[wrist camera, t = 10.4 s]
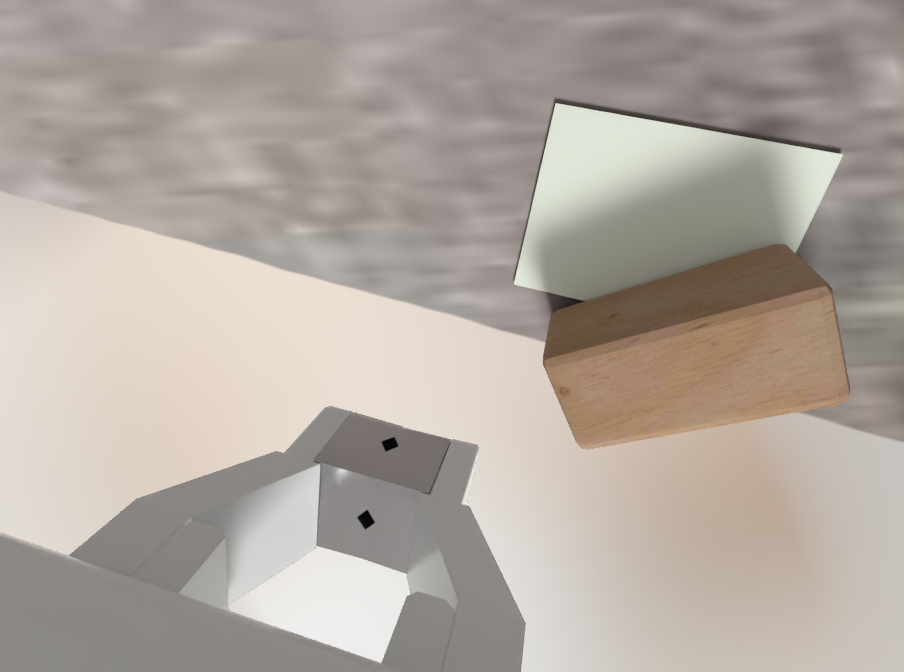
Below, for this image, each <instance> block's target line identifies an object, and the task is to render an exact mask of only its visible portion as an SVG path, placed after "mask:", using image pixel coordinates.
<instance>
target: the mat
mask: <svg viewBox="0 0 904 672" xmlns="http://www.w3.org/2000/svg"><path fill="white" fill-rule="evenodd" d="M842 156H843V154H838V153H832V152H826V151H821V150H815V149H810V148H804V147H799V146H793V145H787V144H782V143H776V142H771V141H765V140H759V139H754V138H748V137H743V136H737V135H731V134H726V133H720V132H715V131H709V130H703V129H698V128H692V127H687V126H681V125H675V124H670V123H664V122H659V121H653V120H647V119H642V118H636V117H631V116H625V115H619V114H614V113H608V112H603V111H597V110H591V109H586V108H580V107H575V106H569V105H563V104H558V103H556V104H555V108H554V112H553V117H552V121H551V125H550V130H549V134H548V138H547V143H546V147H545V151H544V156H543V160H542V164H541V169H540V173H539V177H538V182H537V186H536V190H535V194H534V199H533V203H532V207H531V212H530V216H529V220H528V225H527V229H526V233H525V238H524V242H523V246H522V251H521V255H520V259H519V264H518V268H517V272H516V277H515V281H514V284H515V285H519V286H523V287H527V288H532V289H536V290H540V291H544V292H548V293H553V294H557V295H561V296H565V297H569V298H574V299H578V300H582V301H588V300H591V299H595V298H598V297H601V296H605V295H608V294H611V293H614V292H618V291H621V290H624V289H628V288H631V287H634V286H638V285H641V284H644V283H647V282H651V281H654V280H657V279H661V278H664V277H667V276H671V275H674V274H677V273H680V272H684V271H687V270H690V269H694V268H697V267H700V266H704V265H707V264H710V263H713V262H717V261H720V260H723V259H727V258H730V257H733V256H737V255H740V254H743V253H746V252H750V251H753V250H756V249H760V248H763V247H766V246H770V245H773V244H786V245H787V246H788V247H789V248H790V249H791V250H792V251H793V252H794V253H796V251H797V249H798V247H799V245H800V243H801V241H802V239H803V237H804V235H805V233H806V231H807V229H808V226H809V224H810V222H811V220H812V218H813V216H814V214H815V212H816V210H817V208H818V206H819V204H820V202H821V199H822V197H823V195H824V193H825V191H826V189H827V187H828V185H829V183H830V181H831V179H832V177H833V175H834V173H835V170H836V168H837V166H838V164H839V162H840V160H841V158H842Z"/></svg>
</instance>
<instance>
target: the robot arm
mask: <svg viewBox="0 0 904 672" xmlns="http://www.w3.org/2000/svg"><path fill="white" fill-rule="evenodd" d="M478 449H479V447H478V445H476V444H471V443H467V442H462V441H459V440H454V439H453V440H450V439H447V438H443V437H439V436H435V435H431V434H428V433H423V432H420V431H416V430H412V429H408V428H404V427H402V426H399V425H396V424H392V423H389V422H385V421H382V420H378V419H375V418H372V417H368V416H365V415H361V414H358V413H353V412H351V411H347V410H343V409H339V408H335V407H332V406H329V407H326V408H324V409H323V410H322V412H321V413H320V414H319V415H318V416H317V417H316V418H315V419H314V420H313V421H312V423H311V424H310V425H309V426H308V427H307V428H306V429H305V430H304V431H303V433H302V434H301V435H300V436H299V437H298V438H297V439H296V440H295V441H294V442H293V444H292V445H291V446H290V447H289V448H288V449H287V450H286V451H285V452H284V453H281V452H277V451H275V452H273V453H270V454H267V455H264V456H261V457H258V458H255V459H252V460H249V461H246V462H243V463H240V464H237V465H234V466H232V467H229V468H226V469H223V470H220V471H217V472H214V473H211V474H208V475H205V476H202V477H199V478H197V479H193V480H191V481H188V482H185V483H182V484H179V485H176V486H173V487H170V488H167V489H164V490H161V491H158V492H155V493H153V494H150V495H147V496H144V497H141V498H138V499H136V500H135V501H133V502H132V503H131V504H130V505H129V506H127V507H126V508H125V509H124V510H123V511H121V512H120V513H119V514H118V515H117V516H115V517H114V518H113V519H112V520H111V521H109V522H108V523H107V524H106V525H105V526H104V527H102V528H101V529H100V530H99V531H98V532H96V533H95V534H94V535H93V536H92V537H90V538H89V539H88V540H87V541H86V542H85V543H83V544H82V545H81V546H80V547H78V548H77V549H76V550H75V551H74V552H73V553H71V554H70V555H69V556H67V555H65V554H62V553H59V552H56V551H53V550H50V549H47V548H44V547H41V546H39V545H36V544H33V543H30V542H27V541H24V540H21V539H18V538H15V537H12V536H9V535H7V534H4V533H1V532H0V672H521V664H522V654H523V644H524V633H525V624H526V623H525V621H524V619H523V617H522V615H521V613H520V611H519V608H518V607H517V604H516V602H515V600H514V598H513V596H512V594H511V592H510V590H509V588H508V586H507V584H506V581H505V580H504V577H503V575H502V573H501V571H500V569H499V567H498V565H497V563H496V561H495V559H494V556H493V554H492V553H491V550H490V548H489V546H488V544H487V542H486V540H485V538H484V536H483V534H482V532H481V529H480V527H479V525H478V523H477V521H476V519H475V517H474V515H473V513H472V511H471V509H470V507H469V506H466V505H467V501H468V497H469V492H470V488H471V483H472V478H473V473H474V469H475V464H476V460H477V455H478ZM316 546H319V547H323V548H327V549H331V550H334V551H337V552H341V553H345V554H348V555H352V556H355V557H359V558H363V559H365V560H368V561H371V562H374V563H377V564H380V565H383V566H386V567H388V568H391V569H394V570H397V571H400V572H403V573H406V574H407V580H408V584H409V589H410V593H411V595H409V596H407V597H406V600H405V603H404V605H403V608H402V611H401V613H400V616H399V618H398V621H397V624H396V626H395V629H394V632H393V634H392V637H391V640H390V642H389V645H388V647H387V650H386V653H385V655H384V658H383V661H382V663H379V662H376V661H373V660H371V659H368V658H365V657H362V656H359V655H356V654H353V653H350V652H347V651H344V650H341V649H338V648H336V647H333V646H330V645H327V644H324V643H321V642H318V641H315V640H312V639H309V638H306V637H303V636H300V635H298V634H294V633H292V632H289V631H286V630H283V629H280V628H277V627H274V626H272V625H269V624H266V623H263V622H260V621H256V620H254V619H251V618H248V617H245V616H242V615H240V614H237V613H234V612H231V611H229V605H230V604H232V603H233V602H235V601H236V600H238V599H239V598H241V597H242V596H244V595H246V594H247V593H249V592H250V591H252V590H253V589H255V588H256V587H258V586H259V585H261V584H262V583H264V582H266V581H267V580H269V579H270V578H272V577H273V576H275V575H276V574H278V573H279V572H281V571H282V570H284V569H285V568H287V567H289V566H290V565H292V564H293V563H295V562H296V561H298V560H299V559H301V558H302V557H304V556H306V555H307V554H308V553H310V552H312V551H313V550H315V549H316Z"/></svg>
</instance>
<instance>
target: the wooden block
mask: <svg viewBox="0 0 904 672" xmlns="http://www.w3.org/2000/svg"><path fill="white" fill-rule="evenodd" d="M543 365H544V368H545V370H546V372H547V375H548V377H549V379H550V382H551V384H552V386H553V389H554V391H555V393H556V396H557V398H558V400H559V403H560V405H561V408H562V410H563V412H564V415H565V417H566V419H567V422H568V424H569V426H570V428H571V431H572V433H573V436H574V438H575V440H576V442H577V443H578V445H579V446H580V447H581V448H583V449H594V448H600V447H605V446H611V445H616V444H621V443H627V442H633V441H639V440H644V439H650V438H655V437H661V436H666V435H672V434H678V433H683V432H689V431H695V430H700V429H706V428H711V427H716V426H723V425H728V424H733V423H739V422H745V421H750V420H756V419H761V418H767V417H773V416H778V415H784V414H789V413H795V412H801V411H806V410H812V409H817V408H823V407H829V406H834V405H839V404H841V403H843V402H845V401H847V400H848V398H849V394H850V385H849V379H848V374H847V368H846V363H845V357H844V352H843V346H842V341H841V335H840V330H839V324H838V319H837V313H836V307H835V302H834V296H833V291H832V288H831V287H830V286H829V285H828V283H827V282H826V281H825V280H824V279H823V278H822V277H821V276H820V275H818V274H817V273H816V272H815V271H814V270H813V269H812V268H811V267H810V266H809V265H808V264H806V263H805V262H804V261H803V260H802V259H801V258H800V257H799V256H798V255H797V254H796V253H794V252H793V251H792V250H791V249H790V248H789V247H788V246H787V245H786V244H773V245H770V246H766V247H763V248H760V249H756V250H753V251H750V252H746V253H743V254H740V255H737V256H733V257H730V258H727V259H723V260H720V261H717V262H713V263H710V264H707V265H704V266H700V267H697V268H694V269H690V270H687V271H684V272H680V273H677V274H674V275H671V276H667V277H664V278H661V279H657V280H654V281H651V282H647V283H644V284H641V285H638V286H634V287H631V288H628V289H624V290H621V291H618V292H614V293H611V294H608V295H605V296H601V297H598V298H595V299H591V300H588V301H585V302H581V303H578V304H575V305H572V306H568V307H565V308H562V309H558V310H556V311H555V312H554V313H553V314H551V319H550V324H549V329H548V334H547V339H546V344H545V350H544V355H543Z"/></svg>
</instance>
